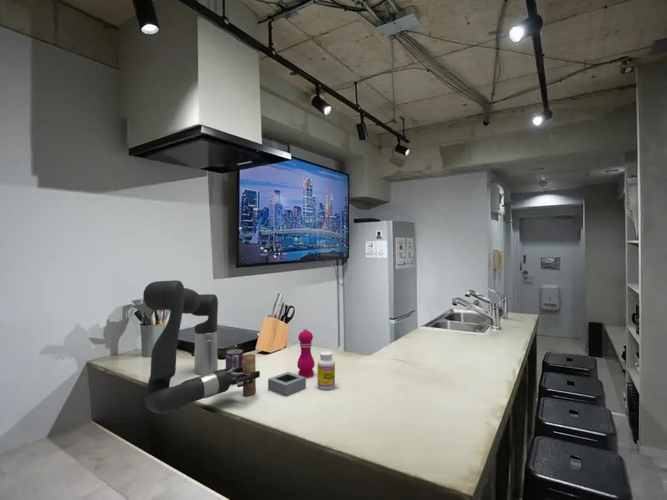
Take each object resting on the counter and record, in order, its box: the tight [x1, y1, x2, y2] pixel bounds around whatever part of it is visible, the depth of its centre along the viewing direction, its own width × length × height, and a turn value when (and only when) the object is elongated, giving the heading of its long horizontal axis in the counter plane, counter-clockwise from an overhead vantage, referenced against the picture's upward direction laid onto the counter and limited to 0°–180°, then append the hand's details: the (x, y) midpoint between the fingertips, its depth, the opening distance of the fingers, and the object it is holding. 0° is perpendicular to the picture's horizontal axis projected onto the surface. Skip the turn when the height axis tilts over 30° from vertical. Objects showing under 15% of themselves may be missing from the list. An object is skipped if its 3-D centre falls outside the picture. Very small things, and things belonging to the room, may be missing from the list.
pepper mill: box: [296, 327, 315, 379], centre depth 151 cm, size 7×7×20 cm
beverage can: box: [225, 348, 245, 378], centre depth 145 cm, size 7×7×12 cm
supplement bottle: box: [317, 351, 336, 390], centre depth 138 cm, size 7×7×13 cm
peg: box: [242, 353, 257, 398], centre depth 132 cm, size 4×4×14 cm
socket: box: [267, 371, 307, 397], centre depth 137 cm, size 10×10×4 cm
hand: (252, 371), depth 133 cm, fingers open, 8 cm apart
